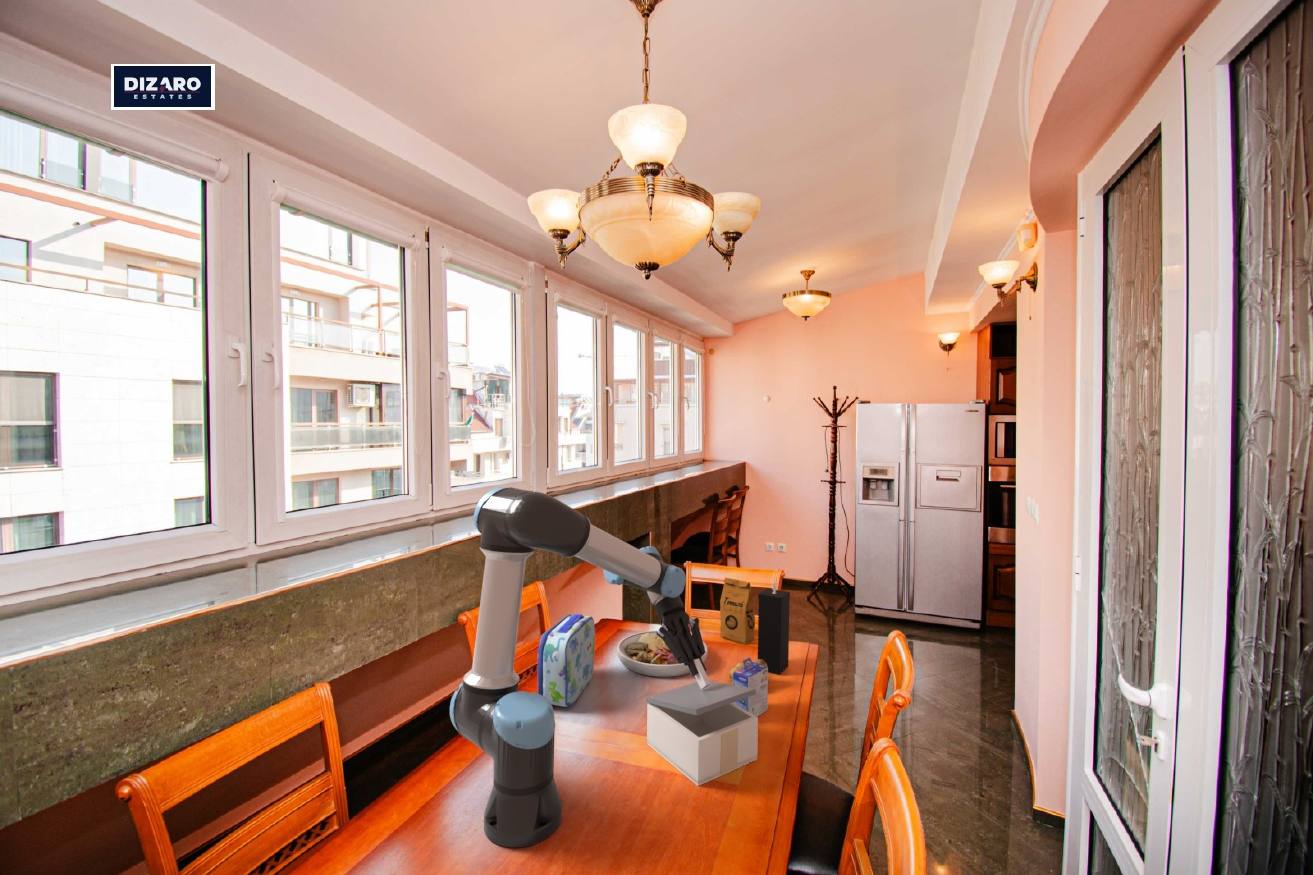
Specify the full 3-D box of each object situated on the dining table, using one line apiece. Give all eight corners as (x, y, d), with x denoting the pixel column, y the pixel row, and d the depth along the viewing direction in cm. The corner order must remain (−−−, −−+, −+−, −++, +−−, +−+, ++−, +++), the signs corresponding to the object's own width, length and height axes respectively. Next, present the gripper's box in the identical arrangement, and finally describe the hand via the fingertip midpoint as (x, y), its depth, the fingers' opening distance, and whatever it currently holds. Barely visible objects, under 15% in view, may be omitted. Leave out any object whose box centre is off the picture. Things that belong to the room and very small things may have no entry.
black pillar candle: (788, 667, 188) (790, 582, 187) (780, 675, 181) (781, 587, 180) (766, 661, 192) (767, 578, 191) (756, 669, 185) (758, 583, 185)
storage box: (646, 743, 142) (647, 703, 141) (703, 722, 152) (703, 685, 152) (698, 786, 125) (699, 741, 125) (757, 760, 135) (758, 718, 135)
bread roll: (746, 699, 165) (746, 672, 165) (719, 688, 172) (719, 662, 172) (770, 685, 175) (770, 659, 174) (743, 675, 181) (743, 650, 181)
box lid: (647, 702, 142) (646, 697, 142) (703, 684, 152) (703, 679, 152) (696, 715, 126) (696, 709, 126) (756, 694, 136) (755, 688, 136)
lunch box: (565, 671, 183) (566, 605, 182) (598, 674, 180) (599, 608, 180) (532, 710, 157) (532, 635, 157) (569, 715, 155) (570, 638, 154)
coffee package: (744, 647, 204) (745, 586, 203) (715, 638, 212) (716, 579, 212) (759, 640, 211) (760, 580, 211) (731, 631, 219) (732, 574, 219)
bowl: (598, 662, 190) (598, 639, 190) (657, 637, 213) (657, 616, 213) (668, 690, 171) (668, 664, 170) (724, 660, 193) (725, 637, 193)
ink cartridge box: (751, 703, 163) (752, 652, 163) (768, 710, 159) (769, 658, 159) (731, 715, 156) (732, 663, 156) (748, 723, 152) (749, 669, 152)
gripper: (679, 603, 159) (718, 685, 147) (640, 612, 152) (678, 700, 139) (691, 589, 155) (732, 673, 142) (652, 598, 147) (692, 687, 135)
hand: (705, 686), depth 141 cm, fingers closed
